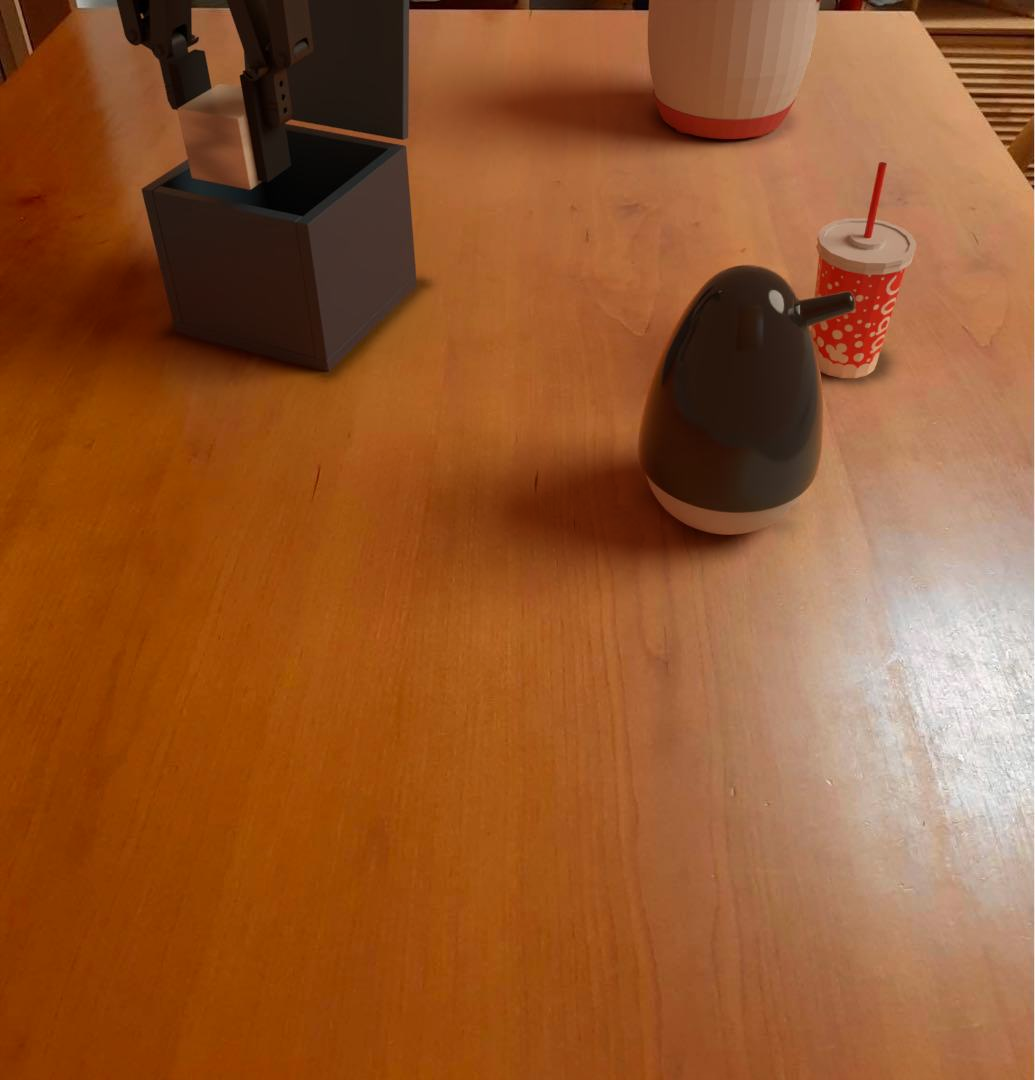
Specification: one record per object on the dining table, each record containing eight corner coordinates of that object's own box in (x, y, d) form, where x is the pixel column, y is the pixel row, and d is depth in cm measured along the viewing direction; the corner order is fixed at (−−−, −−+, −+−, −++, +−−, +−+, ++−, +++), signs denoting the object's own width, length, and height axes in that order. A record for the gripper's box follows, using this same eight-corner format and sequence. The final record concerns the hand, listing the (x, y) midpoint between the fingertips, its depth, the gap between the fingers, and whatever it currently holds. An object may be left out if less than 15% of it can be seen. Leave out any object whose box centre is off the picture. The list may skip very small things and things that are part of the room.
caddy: (328, 372, 79) (307, 224, 72) (175, 332, 83) (140, 188, 76) (417, 285, 88) (406, 145, 81) (274, 253, 92) (251, 117, 85)
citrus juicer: (826, 158, 104) (869, -89, 91) (632, 147, 106) (646, -96, 93) (820, 92, 115) (858, -136, 102) (645, 83, 118) (659, -141, 104)
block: (191, 178, 74) (176, 108, 71) (232, 151, 77) (219, 82, 74) (250, 190, 72) (238, 119, 70) (290, 162, 76) (279, 92, 73)
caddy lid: (404, -83, 73) (410, -84, 73) (233, -102, 77) (240, -103, 77) (403, 140, 80) (408, 137, 81) (247, 112, 84) (253, 109, 85)
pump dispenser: (813, 571, 64) (865, 333, 54) (625, 551, 66) (641, 315, 55) (811, 459, 72) (856, 231, 61) (642, 442, 73) (659, 218, 63)
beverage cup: (840, 395, 77) (883, 195, 67) (778, 352, 81) (809, 157, 71) (907, 367, 79) (957, 169, 70) (843, 326, 83) (882, 135, 74)
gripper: (347, -279, 59) (388, 165, 74) (73, -292, 64) (165, 124, 80) (264, -257, 54) (327, 215, 69) (-26, -273, 59) (93, 167, 75)
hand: (240, 165), depth 74 cm, fingers closed on block, 4 cm apart
